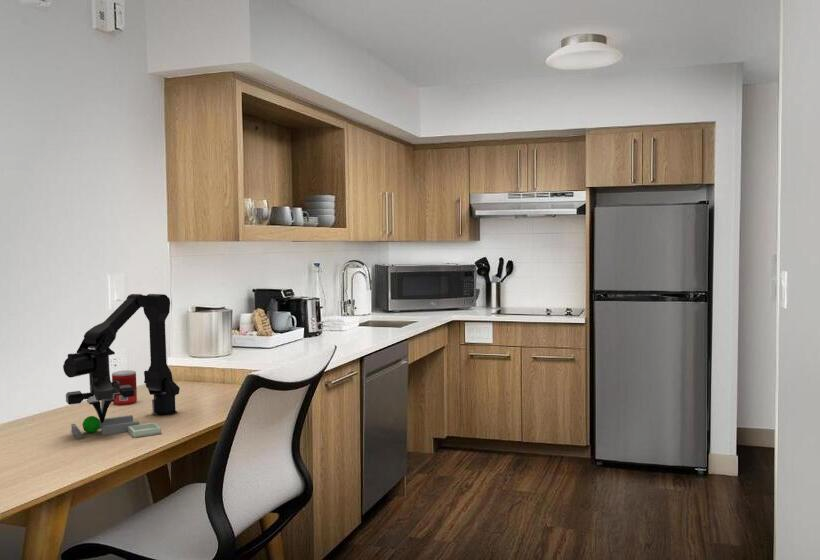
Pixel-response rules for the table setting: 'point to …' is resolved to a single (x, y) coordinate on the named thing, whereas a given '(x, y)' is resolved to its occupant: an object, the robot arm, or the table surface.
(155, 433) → the dish
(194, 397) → the table surface
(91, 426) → the polyhedron
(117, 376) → the canned food
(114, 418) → the channel
